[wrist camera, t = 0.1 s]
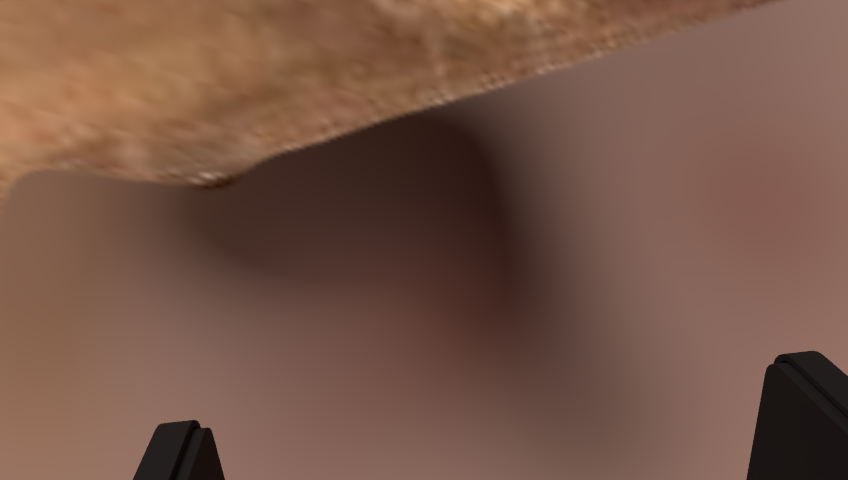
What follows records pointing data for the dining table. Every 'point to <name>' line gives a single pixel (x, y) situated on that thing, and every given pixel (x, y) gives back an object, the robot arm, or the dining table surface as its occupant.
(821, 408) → the robot arm
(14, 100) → the dining table surface
